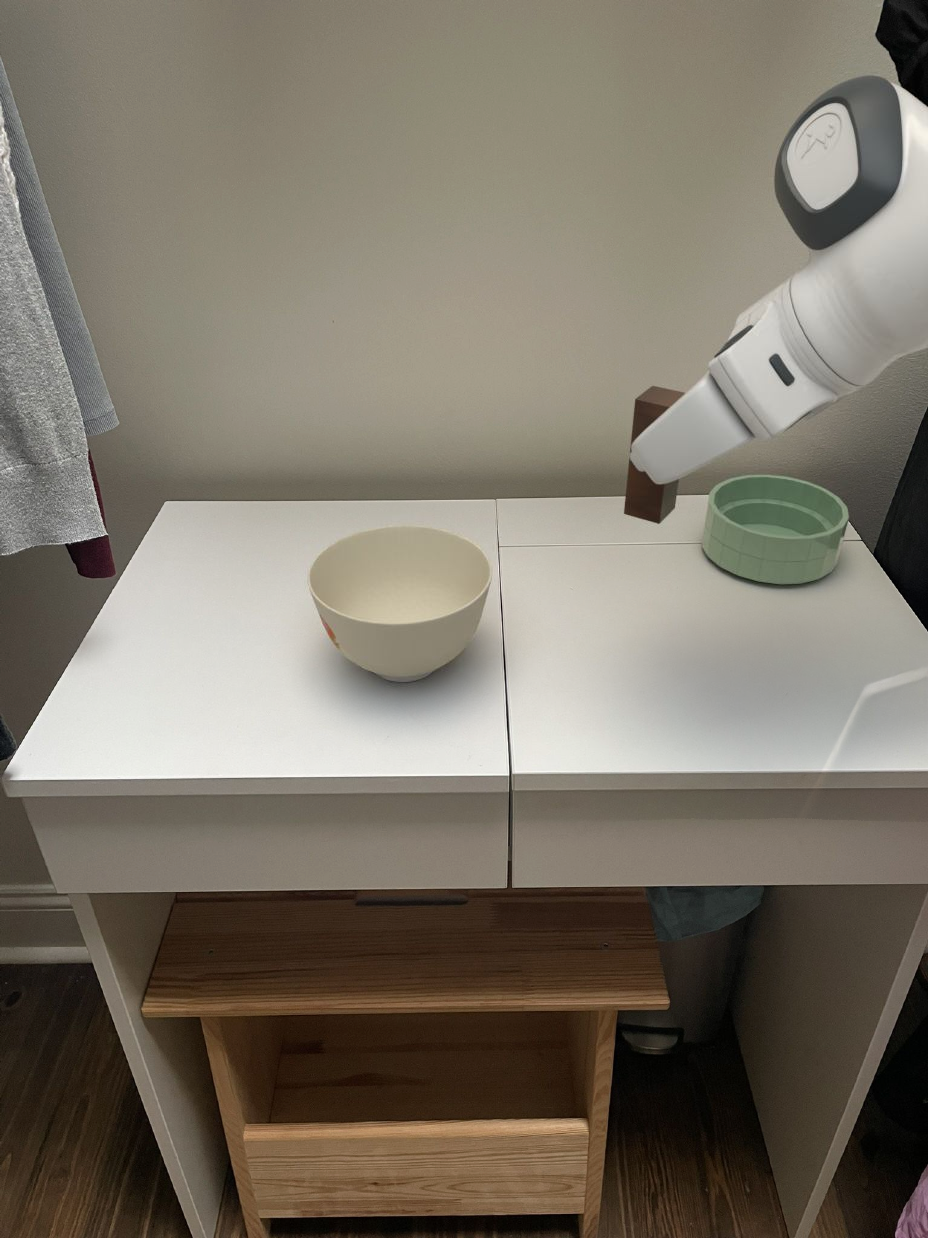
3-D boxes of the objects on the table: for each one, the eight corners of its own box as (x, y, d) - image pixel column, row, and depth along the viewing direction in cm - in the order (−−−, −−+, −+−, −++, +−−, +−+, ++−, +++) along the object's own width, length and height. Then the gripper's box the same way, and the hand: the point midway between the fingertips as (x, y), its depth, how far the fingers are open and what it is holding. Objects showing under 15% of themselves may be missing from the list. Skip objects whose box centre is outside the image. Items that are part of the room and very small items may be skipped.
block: (675, 508, 78) (690, 393, 72) (659, 524, 76) (674, 407, 70) (639, 498, 80) (652, 384, 74) (623, 514, 78) (634, 398, 72)
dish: (864, 572, 100) (878, 522, 97) (752, 600, 96) (762, 549, 92) (780, 512, 111) (790, 465, 107) (676, 535, 107) (683, 487, 103)
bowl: (505, 708, 82) (508, 613, 77) (320, 727, 80) (309, 632, 75) (475, 605, 95) (475, 518, 89) (315, 620, 93) (305, 532, 87)
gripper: (814, 277, 72) (678, 376, 82) (715, 359, 58) (565, 466, 68) (861, 345, 72) (720, 435, 82) (773, 442, 58) (617, 536, 69)
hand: (649, 450), depth 75 cm, fingers closed on block, 3 cm apart
